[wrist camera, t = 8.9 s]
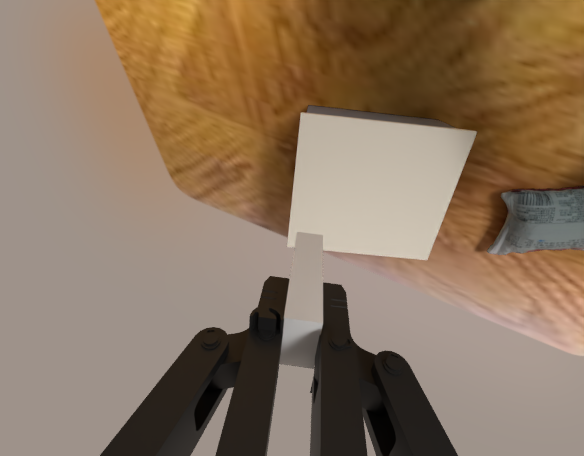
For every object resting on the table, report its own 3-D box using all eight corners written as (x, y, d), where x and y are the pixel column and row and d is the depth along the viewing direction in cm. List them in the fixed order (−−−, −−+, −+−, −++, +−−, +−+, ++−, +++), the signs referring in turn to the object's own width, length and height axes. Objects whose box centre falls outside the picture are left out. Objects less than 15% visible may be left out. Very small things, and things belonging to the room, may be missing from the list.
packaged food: (579, 241, 37) (613, 264, 33) (479, 245, 39) (499, 267, 34) (607, 175, 33) (650, 191, 29) (494, 182, 35) (519, 198, 30)
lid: (300, 112, 24) (300, 113, 24) (473, 130, 24) (477, 131, 24) (287, 243, 30) (287, 246, 30) (424, 256, 31) (427, 260, 30)
